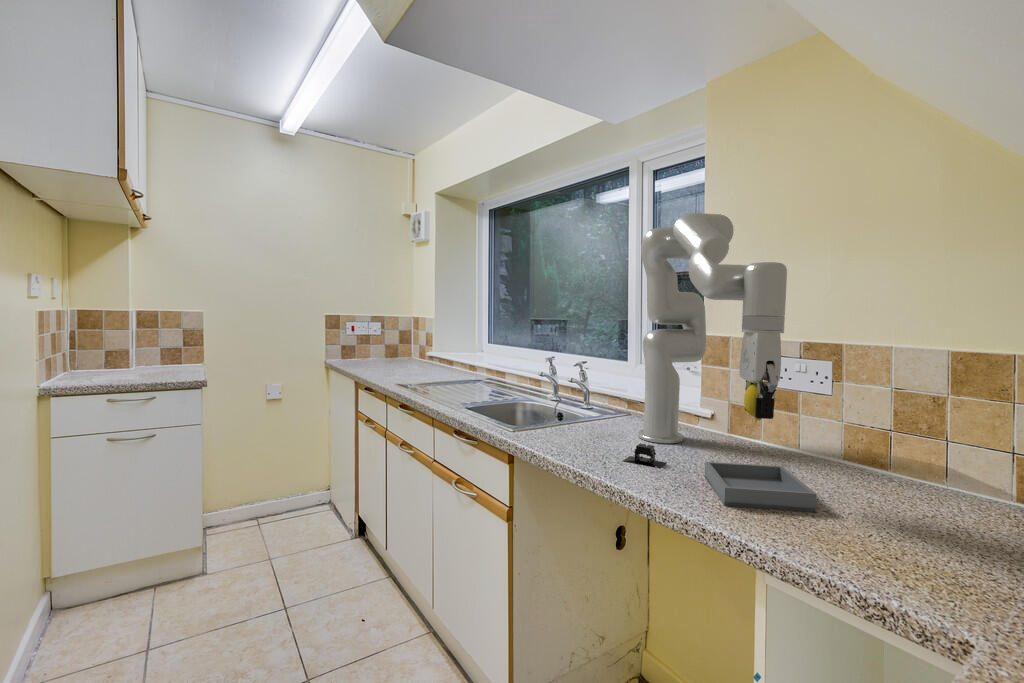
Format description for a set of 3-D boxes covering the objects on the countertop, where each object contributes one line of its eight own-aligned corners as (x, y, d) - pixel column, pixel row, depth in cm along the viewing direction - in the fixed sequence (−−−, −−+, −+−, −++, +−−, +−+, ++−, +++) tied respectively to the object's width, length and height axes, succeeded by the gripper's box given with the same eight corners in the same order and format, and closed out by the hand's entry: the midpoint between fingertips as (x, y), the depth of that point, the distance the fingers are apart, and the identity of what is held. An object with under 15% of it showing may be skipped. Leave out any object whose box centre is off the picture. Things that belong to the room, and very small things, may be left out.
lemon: (779, 421, 96) (781, 382, 96) (762, 424, 93) (764, 384, 93) (753, 416, 101) (755, 378, 100) (737, 419, 98) (738, 380, 98)
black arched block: (674, 465, 117) (675, 447, 117) (665, 473, 111) (666, 454, 111) (625, 456, 124) (626, 438, 124) (614, 463, 118) (615, 445, 118)
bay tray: (704, 476, 107) (705, 461, 107) (781, 481, 105) (782, 466, 105) (724, 505, 92) (725, 487, 91) (815, 512, 89) (816, 493, 89)
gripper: (730, 323, 105) (726, 405, 106) (757, 326, 88) (752, 423, 89) (767, 324, 104) (763, 407, 105) (801, 327, 87) (796, 425, 88)
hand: (758, 413), depth 97 cm, fingers closed on lemon, 5 cm apart
